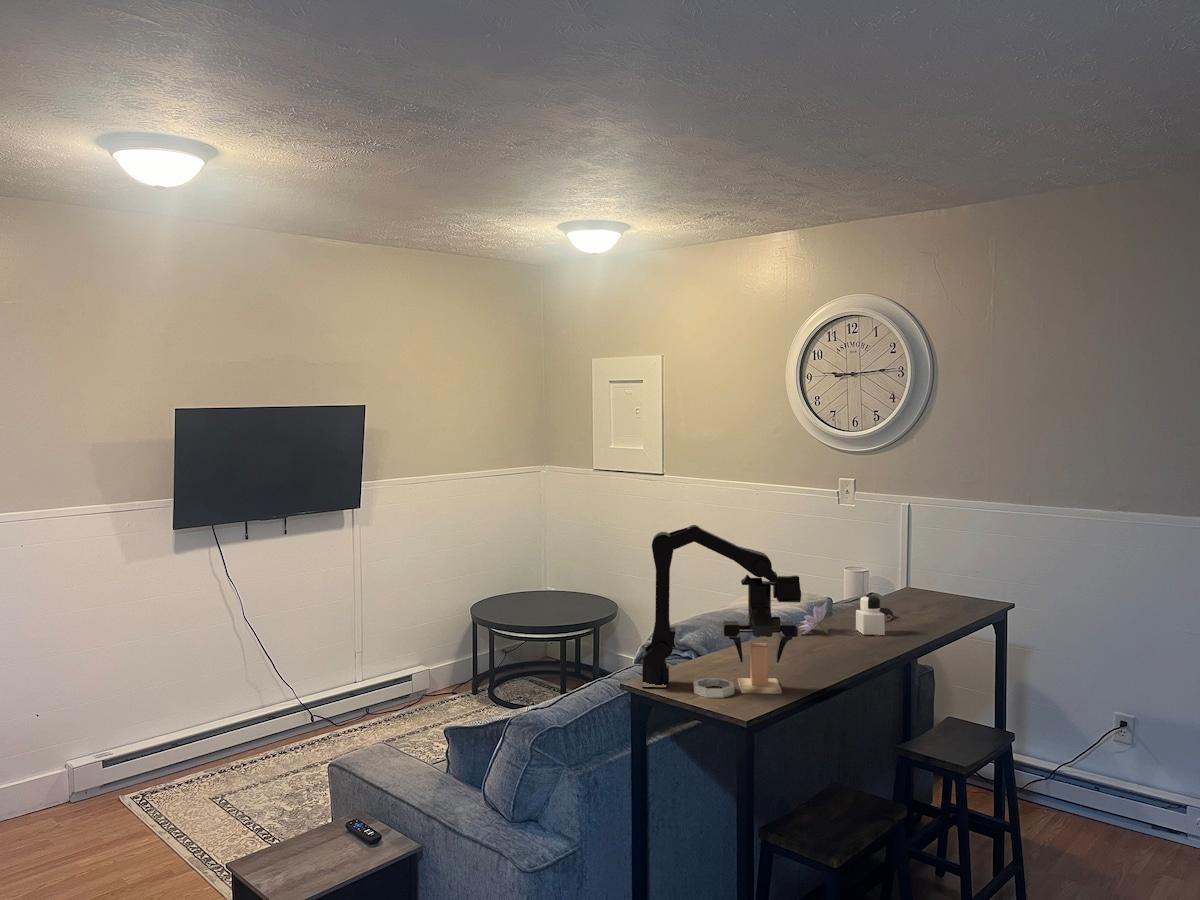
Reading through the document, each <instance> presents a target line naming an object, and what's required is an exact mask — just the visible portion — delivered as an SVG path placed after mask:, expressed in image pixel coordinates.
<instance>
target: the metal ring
mask: <svg viewBox="0 0 1200 900" xmlns="http://www.w3.org/2000/svg"><path fill="white" fill-rule="evenodd" d="M704 686H719V687H704ZM720 687H722V688H720ZM693 693H695V695H697V694H698V695H697V696H700V697H703V696H704V698H711V699H712V698H713V699H714V698H716V699H719V698H720V699H723V698H728V697H729V696H733V695H735V685H734V682H733V681H731V680H728V679H725V678H720V677H718V678H717V677H703V678H701V679H696V680H694V681H693Z"/></svg>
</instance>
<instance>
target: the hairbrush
mask: <svg viewBox="0 0 1200 900" xmlns="http://www.w3.org/2000/svg"><path fill="white" fill-rule="evenodd" d="M879 611H880V612H881V613H883V614H885V615H886V616H887V615H888V614H889V615H891V616H893V617H894V614H893V611H892V610H891V608H889V607H887V605H886V606H885V607H880V610H879ZM887 618H889V617H887Z"/></svg>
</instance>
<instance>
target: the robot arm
mask: <svg viewBox="0 0 1200 900" xmlns="http://www.w3.org/2000/svg"><path fill="white" fill-rule="evenodd" d="M692 543H697V544H698V545H700V546H702V547H705V548H707V549H709V550H711V551H713V552H715V553H718V554H720V555H721V556H723V557H726V558H728V559H729V560H732V561H734V562H735V563H736V564H738V565H739V566H741V567H742V568H743V570H744V569H745V571H747V572H749V573H751V575H753V576H755V577H751V576H750V575H749V574H746V575H745V576H744V577H743V578H742V579H741V580H740V583H741V585H742V586H748V587H747V588H748V590H747V592H748V593H747V595H748V597H747V598H748V599H747V600H748V603H747V604H748V608H747V611H748V612H747V613H748V615H747V616H748V617H747V618H748V619H747V621H748V624H739V621H738V620H737V621H736V620H735V621H734V620H730V621H729V620H724V621H723V622H722V625H721V626H722V629H721V631H722V632H721V633H722V634H723V636H724V637H727V638H728V640H731V641H733V643H734V645H735V648H736V651H737V654H738V657H739V660H740V663H743V661H744V660H743V649H742V642H741V641H742V640H741V635H740V633H752V635H753V637H756V638H760V637H766V638H771V637H773V634H775V633H777V641H776V654H775V656H776V657H775V658H776V659H775V660H776V663H779V662H780V660H781V657H782V654H783V651H784V648H785V646H786V644H787V643H788V642H789V641H792V640H793V638H796V637H798V636H799V629H798V628H799V627H798V626H797V625H796V623H795V622H793V621H781V618H780V616H772V610H771V609H772V602H771V601H772V598H771V597H773V599H776V600H777V603H801V601H802V590H801V584H800V583H801V582H800V576H798V575H787V576H785V575H778V573H777V572H776V571H774V569H773V568H772V565H773V564H772V562H771V559H770V558H769V556H768V555H767V554H765V553H764V552H762V551H758V550H755V549H751V548H745V547H742V546H739V545H736V544H735V543H734V542H733V543H732V542H730V541H728V540H726V539H725V538H722V537H720V536H718V535H715V534H713V533H711V532H709V531H707V530H705V529H704V528H701V527H700V526H698V525H696V524H691V525H689V526H688V527H685V528H681V529H677V530H675V531H671V532H667V531H660V532H657V533H656V534H655V535H654V536H653V538H652V543H651V549H652V556H653V557H652V558H653V561H654V567H655V611H654V612H655V616H654V617H655V618H654V619H655V622H654V624H653V625H654V627H653V632H652V636H651V642H650V644H648V646H646V647H645V648H644V650H643V655H642V661H641V662H642V663H641V665H642V669H641V670H642V671H641V673H642V680H641V682H642V681H643V682H646V683H649V684H655V685H662V684H664V685H666V684H667V685H669V683H670V666H669V665H668V664H667V660H666V659H667V658H669V657H670V656H671V655H672V654H673V651H674V648H675V649H676V647H677V646H676V643H677V642H676V629H677V627H676V626H671V622H670V588H671V587H670V580H671V579H670V574H671V573H670V572H671V571H670V570H671V565H672V560H673V554H674V550H677V549H680V548H682V547H684V546H687V545H689V544H692ZM763 578H764V579H766V580H767V581H766V580H763ZM771 588H772V589H771ZM771 591H772V592H771ZM771 594H772V595H771Z"/></svg>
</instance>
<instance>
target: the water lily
mask: <svg viewBox="0 0 1200 900" xmlns="http://www.w3.org/2000/svg"><path fill="white" fill-rule="evenodd" d="M827 603H828V600H826V601H825V603H823V604H822V606H816V605H814V606H813V615H804V617H803V618H804V619H805V620H803V621H799V623H801V624H803V625H800V626H799V627H798V628H799V629H800V631H803V632H802V633H801V634H803V635H805V634H807V633H808V632H810V631H812V630H813V629H814V628H816V627H817V626H818V625H819V626H820V627H821V629H822V630H823V632H824V633H825V634H826V633H828V634H829V632H828V631H827V629H826V628H825V627H824V626H823V625H822V624H821V622H822V621H823V619H824V617H825V616H826V614H827V605H828V604H827Z"/></svg>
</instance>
